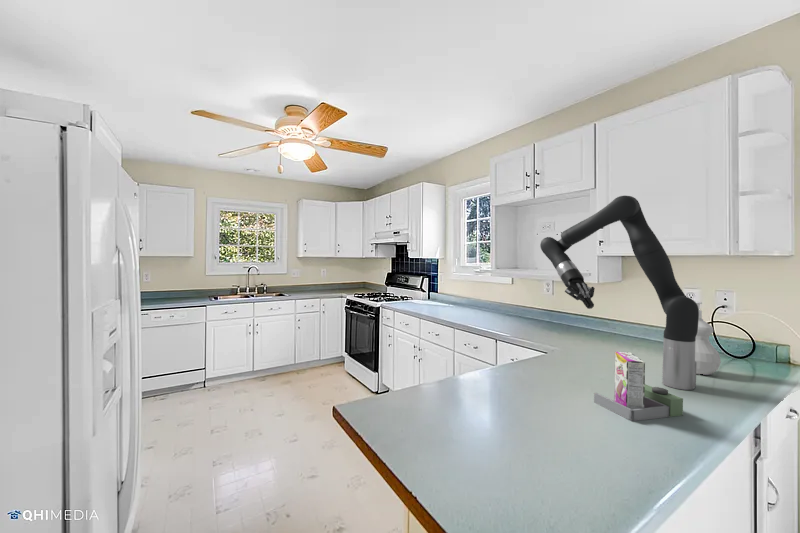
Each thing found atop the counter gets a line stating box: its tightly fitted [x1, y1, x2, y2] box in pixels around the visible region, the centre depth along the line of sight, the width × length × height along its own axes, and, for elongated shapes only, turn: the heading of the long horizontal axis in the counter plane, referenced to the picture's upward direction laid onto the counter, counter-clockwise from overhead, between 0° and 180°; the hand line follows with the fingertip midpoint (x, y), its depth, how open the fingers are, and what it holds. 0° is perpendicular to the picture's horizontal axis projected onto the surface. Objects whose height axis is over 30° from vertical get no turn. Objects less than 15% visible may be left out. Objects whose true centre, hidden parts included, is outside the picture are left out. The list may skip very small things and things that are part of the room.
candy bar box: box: [613, 351, 646, 409], centre depth 108 cm, size 11×5×16 cm, turn 165°
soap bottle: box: [694, 300, 722, 376], centre depth 147 cm, size 17×12×29 cm
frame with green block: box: [593, 383, 684, 422], centre depth 109 cm, size 19×14×6 cm
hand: (591, 307), depth 134 cm, fingers closed
